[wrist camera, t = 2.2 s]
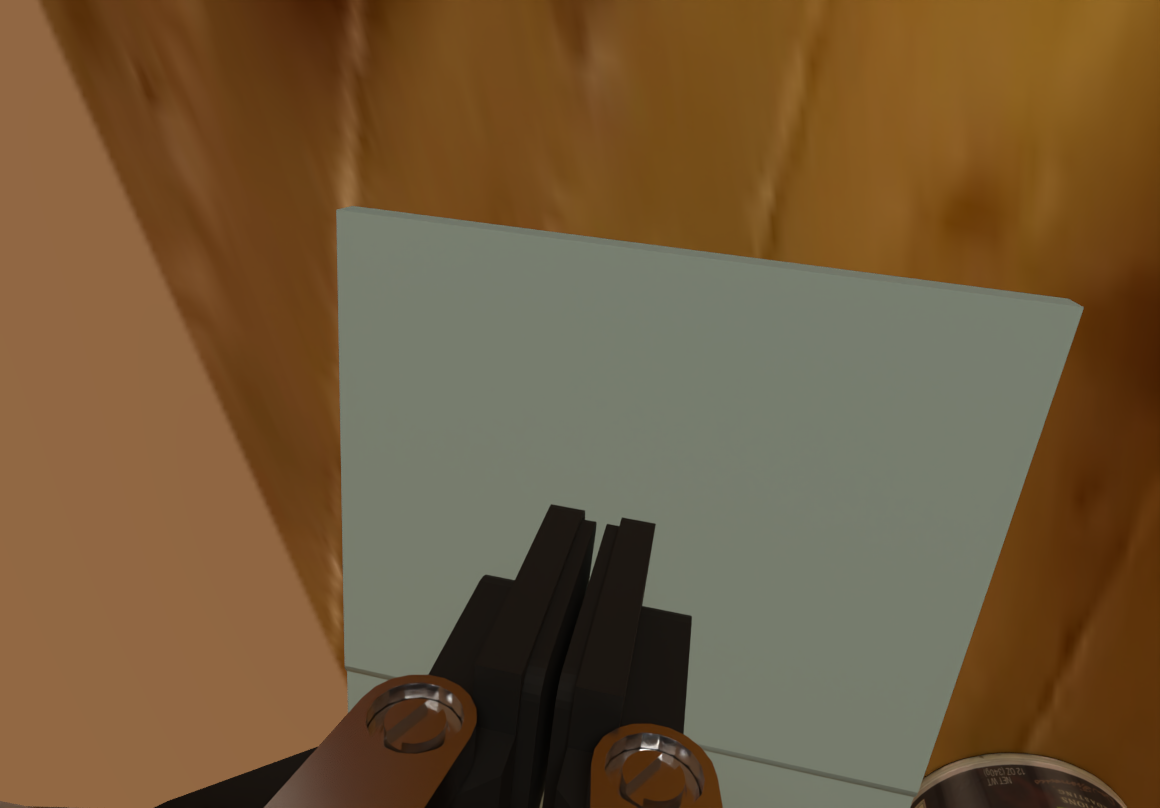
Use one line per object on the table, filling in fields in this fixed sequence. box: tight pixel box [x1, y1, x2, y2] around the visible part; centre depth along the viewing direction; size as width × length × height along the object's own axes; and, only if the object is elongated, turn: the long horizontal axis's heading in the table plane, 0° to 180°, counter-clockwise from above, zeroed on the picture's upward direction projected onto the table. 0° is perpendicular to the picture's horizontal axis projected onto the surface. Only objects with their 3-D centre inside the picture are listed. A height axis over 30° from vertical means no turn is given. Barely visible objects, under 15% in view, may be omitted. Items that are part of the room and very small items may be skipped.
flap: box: [336, 206, 1084, 808], centre depth 22 cm, size 16×27×1 cm, turn 175°
